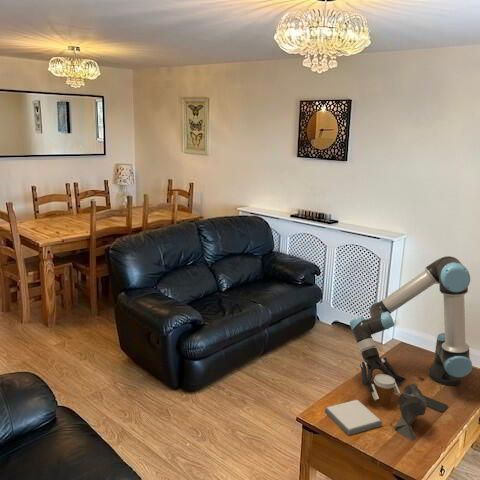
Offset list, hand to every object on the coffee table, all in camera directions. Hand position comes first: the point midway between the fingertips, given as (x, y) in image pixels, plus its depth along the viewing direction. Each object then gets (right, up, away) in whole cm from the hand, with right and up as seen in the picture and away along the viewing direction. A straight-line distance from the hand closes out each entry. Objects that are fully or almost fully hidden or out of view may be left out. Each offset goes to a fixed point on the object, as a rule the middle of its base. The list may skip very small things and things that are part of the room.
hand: (387, 396), depth 211 cm
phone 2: (+9, 0, +21) cm, 22 cm away
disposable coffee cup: (-1, -4, +4) cm, 6 cm away
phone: (+20, -5, +4) cm, 21 cm away
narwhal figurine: (+5, -8, -12) cm, 15 cm away
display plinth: (-18, -7, -9) cm, 21 cm away
